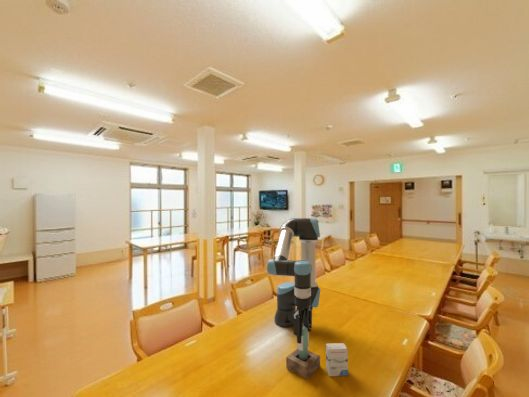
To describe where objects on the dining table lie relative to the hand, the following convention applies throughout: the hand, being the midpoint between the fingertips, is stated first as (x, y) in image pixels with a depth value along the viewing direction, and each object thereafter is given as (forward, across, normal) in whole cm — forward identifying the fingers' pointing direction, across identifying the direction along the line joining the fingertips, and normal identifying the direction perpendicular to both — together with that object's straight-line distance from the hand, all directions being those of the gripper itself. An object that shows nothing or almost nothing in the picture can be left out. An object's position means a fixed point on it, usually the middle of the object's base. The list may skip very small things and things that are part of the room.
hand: (303, 347), depth 116 cm
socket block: (+9, 0, 0) cm, 9 cm away
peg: (+6, 0, 0) cm, 6 cm away
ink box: (+10, +7, -13) cm, 18 cm away
